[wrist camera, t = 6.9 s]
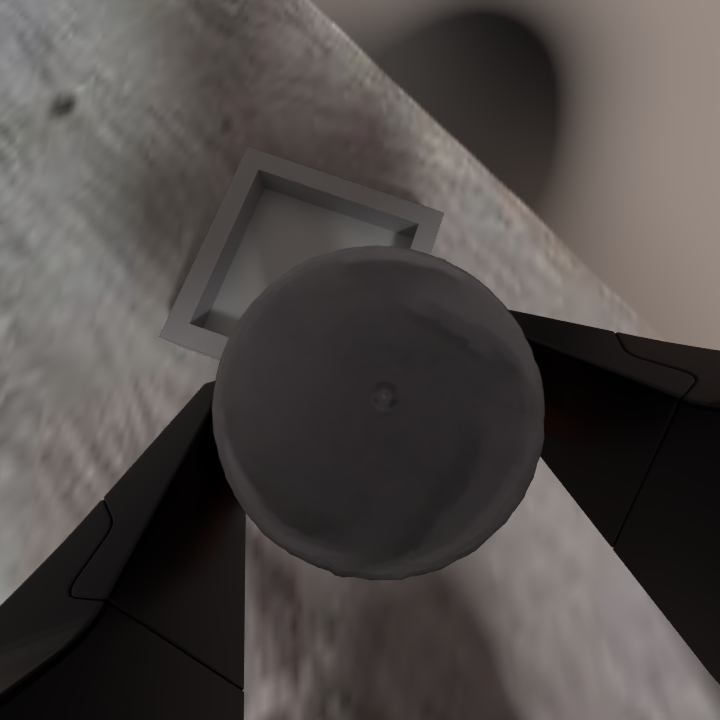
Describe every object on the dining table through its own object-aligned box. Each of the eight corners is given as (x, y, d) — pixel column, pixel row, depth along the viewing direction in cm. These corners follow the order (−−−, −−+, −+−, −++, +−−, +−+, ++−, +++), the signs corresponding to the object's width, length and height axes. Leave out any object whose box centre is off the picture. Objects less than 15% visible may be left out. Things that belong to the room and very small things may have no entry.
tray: (433, 234, 24) (444, 212, 21) (373, 414, 21) (377, 413, 19) (257, 174, 24) (247, 146, 21) (180, 346, 22) (159, 336, 19)
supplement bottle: (306, 332, 16) (211, 114, 5) (437, 363, 16) (658, 219, 5) (269, 470, 15) (32, 613, 4) (410, 503, 15) (612, 751, 4)
